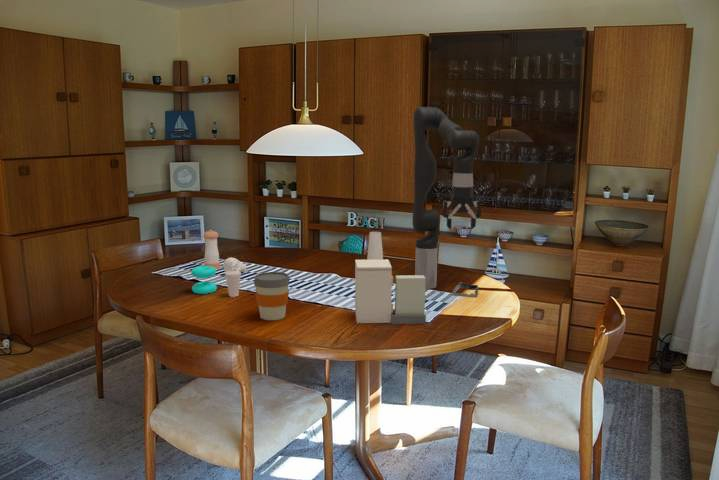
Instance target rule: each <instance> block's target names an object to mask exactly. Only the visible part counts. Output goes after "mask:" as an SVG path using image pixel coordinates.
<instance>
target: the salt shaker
mask: <svg viewBox="0 0 719 480" xmlns="http://www.w3.org/2000/svg"><path fill="white" fill-rule="evenodd" d="M202 237H203V239H204V241H205V242H204V243H205V248H204V263H203V264H204V265H203V266H211V267H214V268H215V269H219V268H220V269H221V262H220V252H219V249H218V238H219V233H218V232H217V231H215V230H213V229H209V230H207V231H204V233H203V235H202ZM220 269H219V270H220Z"/></svg>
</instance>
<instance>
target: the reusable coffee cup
mask: <svg viewBox="0 0 719 480" xmlns="http://www.w3.org/2000/svg"><path fill="white" fill-rule="evenodd" d="M253 285H254V286H255V293H254V295H255V299H256V304H257V305H258V311H259V316H260V319H262V320H265V321H277V320H279V321H280V320H282V319H284V318H285V317H286V309H287V304H288V303H289V296H290V295H289V294H290V290H289V286H290V277H289V274H288V273H285V272H283V271H282V272H279V271H268V272H267V271H266V272H260V273H258V274H255V276H254V281H253Z"/></svg>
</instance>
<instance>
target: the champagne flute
mask: <svg viewBox="0 0 719 480" xmlns="http://www.w3.org/2000/svg"><path fill="white" fill-rule="evenodd" d="M368 237H369V238H368V247H367V256H366V260H384V250H383V242H382V241H383V240H382V239H383V238H382V232H381V231H369V236H368Z"/></svg>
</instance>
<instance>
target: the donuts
mask: <svg viewBox="0 0 719 480" xmlns="http://www.w3.org/2000/svg"><path fill="white" fill-rule="evenodd" d="M190 272H191V273H190V274H191V276H192V277H194V278H195V279H196V278H197V279H208V278H211V277H213V276H215V275H216V273H217V270H216V269H215V268H214V267H211V266H204V265H201V266H197V267H194V268H192V269H191V271H190ZM217 289H218V286H217V284H216V283H214V282H213V281H199V282H196V283H195V284H193V285H192V287H191V291H192V292H193V293H194V294H198V295H207V294H208V293H209V294H212V293H214V292H216V291H217Z"/></svg>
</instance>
